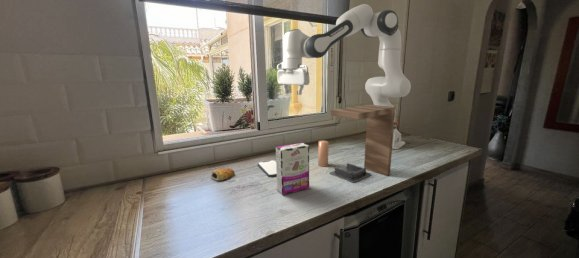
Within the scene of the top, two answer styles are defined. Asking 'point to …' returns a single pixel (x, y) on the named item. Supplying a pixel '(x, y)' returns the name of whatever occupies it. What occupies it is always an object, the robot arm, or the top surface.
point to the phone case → (268, 168)
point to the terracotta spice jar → (323, 153)
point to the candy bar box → (292, 168)
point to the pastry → (222, 174)
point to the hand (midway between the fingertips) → (292, 94)
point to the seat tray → (350, 173)
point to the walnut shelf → (374, 134)
